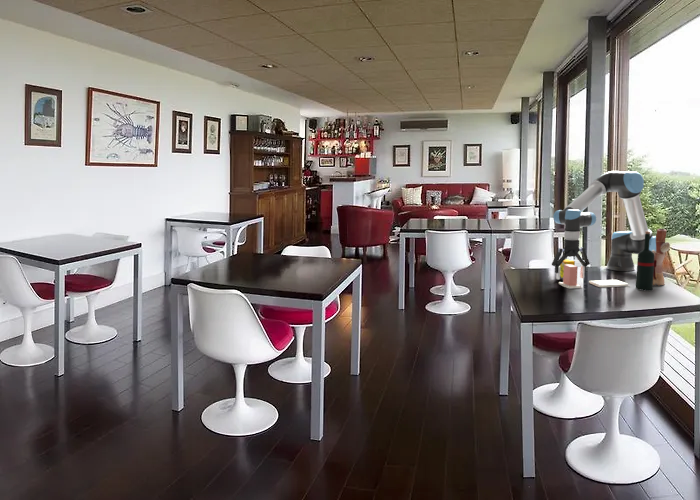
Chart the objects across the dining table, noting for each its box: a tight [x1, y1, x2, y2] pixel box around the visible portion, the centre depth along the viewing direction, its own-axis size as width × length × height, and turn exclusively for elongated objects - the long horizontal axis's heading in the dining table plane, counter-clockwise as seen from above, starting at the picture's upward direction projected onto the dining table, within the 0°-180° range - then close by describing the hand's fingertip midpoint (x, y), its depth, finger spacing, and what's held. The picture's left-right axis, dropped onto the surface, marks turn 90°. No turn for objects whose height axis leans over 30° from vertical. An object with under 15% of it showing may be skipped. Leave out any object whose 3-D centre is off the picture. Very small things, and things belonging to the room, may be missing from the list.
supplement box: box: [559, 258, 576, 281], centre depth 324 cm, size 6×6×11 cm
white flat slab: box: [588, 279, 630, 288], centre depth 310 cm, size 16×11×1 cm
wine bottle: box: [635, 231, 657, 292], centre depth 297 cm, size 8×10×30 cm
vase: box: [652, 228, 671, 287], centre depth 306 cm, size 10×7×30 cm
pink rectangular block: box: [558, 264, 582, 290], centre depth 307 cm, size 7×11×11 cm, turn 7°
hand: (570, 278), depth 307 cm, fingers open, 13 cm apart
